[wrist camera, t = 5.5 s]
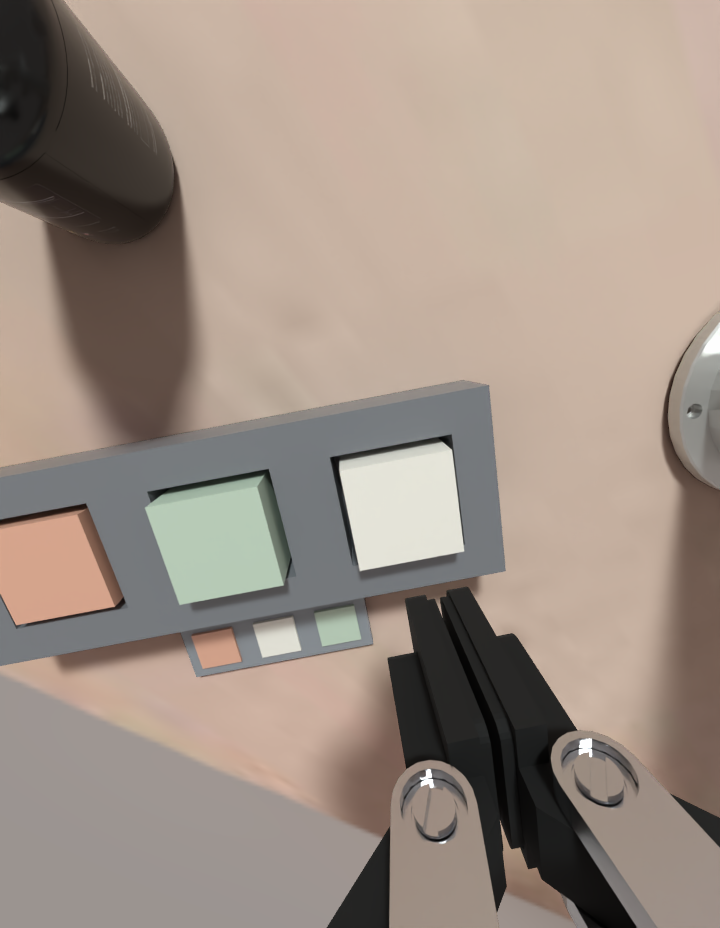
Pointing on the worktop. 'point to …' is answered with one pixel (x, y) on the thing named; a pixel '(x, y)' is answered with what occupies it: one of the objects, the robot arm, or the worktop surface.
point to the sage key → (221, 536)
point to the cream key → (402, 503)
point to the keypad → (299, 500)
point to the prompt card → (278, 637)
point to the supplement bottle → (76, 130)
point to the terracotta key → (54, 565)
